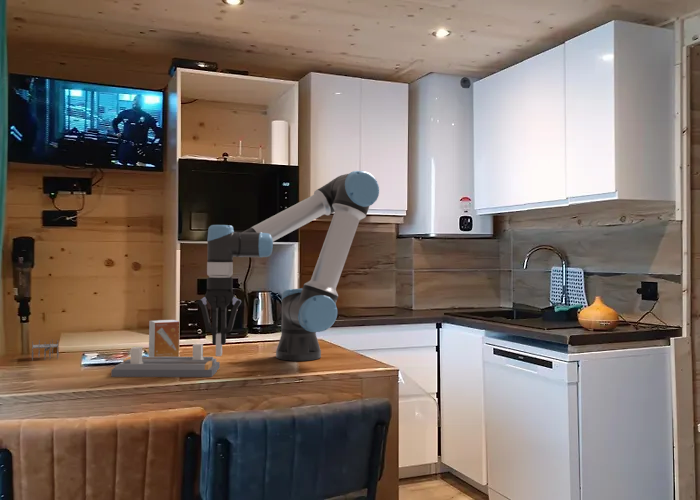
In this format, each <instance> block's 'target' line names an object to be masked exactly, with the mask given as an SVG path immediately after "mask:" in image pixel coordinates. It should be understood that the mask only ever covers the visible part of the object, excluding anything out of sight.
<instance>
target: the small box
mask: <svg viewBox="0 0 700 500" xmlns="http://www.w3.org/2000/svg"><path fill="white" fill-rule="evenodd" d="M148 322H149V324H148V328H149V329H148V333H149V334H148V357H180V356H179V355H180V321H178V320H176V319H158V320H149V321H148Z"/></svg>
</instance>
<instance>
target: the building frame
mask: <svg viewBox="0 0 700 500" xmlns="http://www.w3.org/2000/svg"><path fill="white" fill-rule="evenodd" d="M51 341H52V343H47V344H46V343H44V344H40V342H41V340H40V339H39V340H38V344H34V340H32V342H31V359H32V360H31V361H33V360H34V349H38V353H37V354H38V355H37V356H38V357H40V354H41V351H40V349H44V353H43V360H46V358H47V356H46V355H47V352H46V351H48V350H49V351H48V357H49V360H51V356H52V358H53V355H54V348H57V349H56V358H57V359H59V356H60V355H59V354H60V353H59V340H57V342H56V343H55V344H54V339H51Z"/></svg>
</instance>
